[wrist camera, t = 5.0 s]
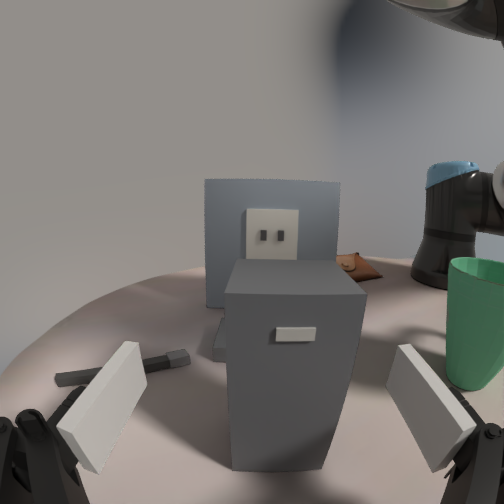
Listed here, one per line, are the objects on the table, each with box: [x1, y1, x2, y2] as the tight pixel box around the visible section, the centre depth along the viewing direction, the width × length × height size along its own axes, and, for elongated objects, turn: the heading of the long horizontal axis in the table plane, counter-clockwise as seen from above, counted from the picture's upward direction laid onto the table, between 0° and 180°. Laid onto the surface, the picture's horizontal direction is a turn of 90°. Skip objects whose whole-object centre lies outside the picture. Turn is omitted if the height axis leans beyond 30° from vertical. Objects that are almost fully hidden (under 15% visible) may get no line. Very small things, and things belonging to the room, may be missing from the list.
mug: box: [446, 257, 504, 391], centre depth 17 cm, size 15×10×10 cm
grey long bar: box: [55, 349, 190, 387], centre depth 19 cm, size 12×1×1 cm, turn 123°
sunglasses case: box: [336, 252, 383, 282], centre depth 48 cm, size 18×7×7 cm
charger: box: [224, 259, 367, 472], centre depth 13 cm, size 5×6×11 cm
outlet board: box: [205, 179, 340, 362], centre depth 28 cm, size 16×14×16 cm
